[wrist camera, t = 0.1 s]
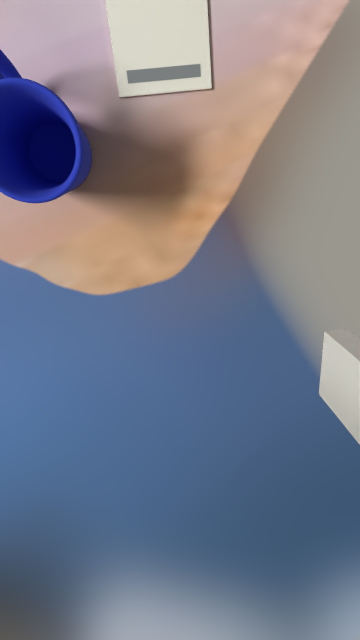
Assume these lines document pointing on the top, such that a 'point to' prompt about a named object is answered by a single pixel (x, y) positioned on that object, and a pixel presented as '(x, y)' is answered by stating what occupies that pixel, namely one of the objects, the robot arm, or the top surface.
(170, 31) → the paper
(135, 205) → the top surface
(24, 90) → the mug
